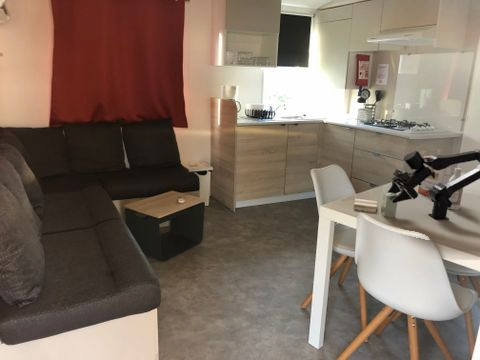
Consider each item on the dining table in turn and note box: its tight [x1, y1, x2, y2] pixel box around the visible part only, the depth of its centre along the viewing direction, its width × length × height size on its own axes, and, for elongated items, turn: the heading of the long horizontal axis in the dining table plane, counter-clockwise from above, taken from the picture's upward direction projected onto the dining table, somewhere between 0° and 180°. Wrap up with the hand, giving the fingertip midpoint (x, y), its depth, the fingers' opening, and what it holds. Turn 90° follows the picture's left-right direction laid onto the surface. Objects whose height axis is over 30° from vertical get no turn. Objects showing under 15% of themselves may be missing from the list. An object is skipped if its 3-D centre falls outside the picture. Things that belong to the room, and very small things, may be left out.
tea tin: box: [380, 191, 399, 218], centre depth 183 cm, size 5×5×10 cm
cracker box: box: [417, 155, 452, 197], centre depth 217 cm, size 14×6×21 cm, turn 25°
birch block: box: [353, 198, 378, 213], centre depth 193 cm, size 10×10×3 cm
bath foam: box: [447, 167, 464, 211], centre depth 197 cm, size 7×7×20 cm
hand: (389, 199), depth 182 cm, fingers open, 9 cm apart
